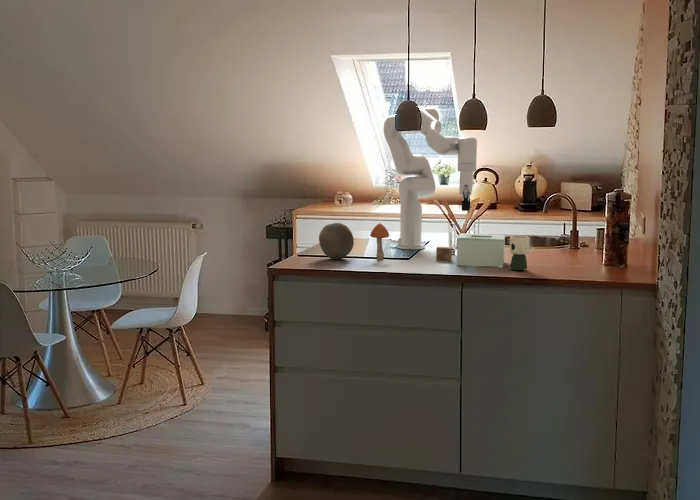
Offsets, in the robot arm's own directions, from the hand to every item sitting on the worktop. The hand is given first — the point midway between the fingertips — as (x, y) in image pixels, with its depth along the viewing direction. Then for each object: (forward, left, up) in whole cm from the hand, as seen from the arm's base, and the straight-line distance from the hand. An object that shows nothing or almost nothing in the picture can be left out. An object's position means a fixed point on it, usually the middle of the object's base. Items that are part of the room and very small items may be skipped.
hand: (466, 209), depth 331 cm
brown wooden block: (-8, -8, -21) cm, 23 cm away
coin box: (+7, -11, -20) cm, 24 cm away
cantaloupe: (-51, -17, -21) cm, 57 cm away
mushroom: (-34, -12, -21) cm, 41 cm away
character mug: (+22, -22, -21) cm, 38 cm away
